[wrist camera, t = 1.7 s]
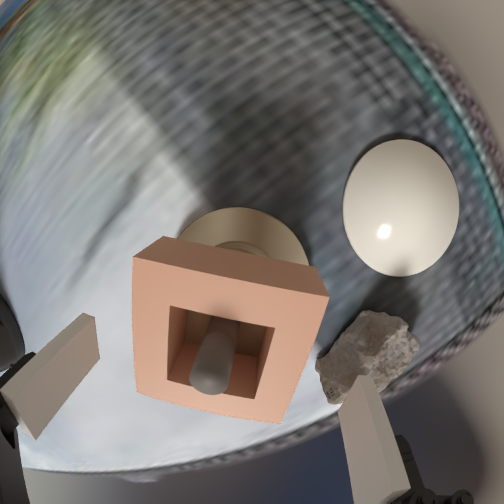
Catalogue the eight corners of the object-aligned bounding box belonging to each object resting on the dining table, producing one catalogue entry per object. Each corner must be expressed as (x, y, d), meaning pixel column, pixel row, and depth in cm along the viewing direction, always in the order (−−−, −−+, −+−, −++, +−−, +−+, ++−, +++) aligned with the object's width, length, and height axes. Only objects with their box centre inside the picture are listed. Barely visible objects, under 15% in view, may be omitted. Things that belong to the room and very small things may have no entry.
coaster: (326, 260, 23) (327, 262, 22) (357, 121, 20) (359, 120, 19) (434, 283, 23) (437, 285, 22) (465, 166, 20) (468, 166, 19)
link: (157, 356, 18) (136, 392, 15) (163, 236, 16) (133, 256, 12) (279, 382, 18) (280, 423, 15) (315, 267, 16) (329, 297, 12)
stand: (167, 320, 26) (107, 417, 13) (180, 195, 22) (85, 227, 10) (289, 345, 26) (297, 459, 13) (323, 223, 22) (384, 288, 10)
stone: (416, 335, 25) (439, 368, 19) (346, 389, 28) (356, 427, 22) (380, 288, 24) (405, 321, 18) (301, 353, 26) (306, 394, 21)
